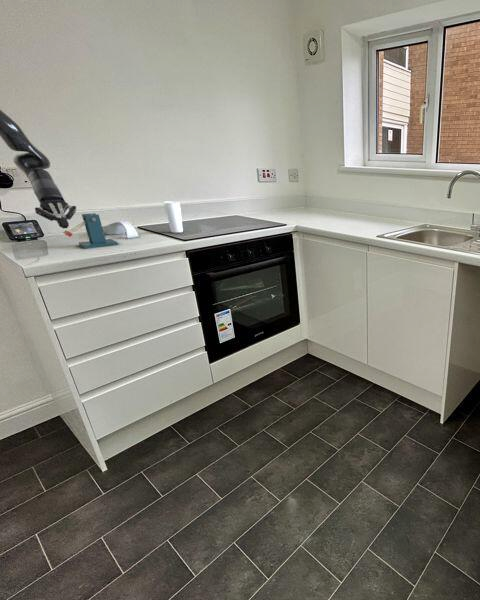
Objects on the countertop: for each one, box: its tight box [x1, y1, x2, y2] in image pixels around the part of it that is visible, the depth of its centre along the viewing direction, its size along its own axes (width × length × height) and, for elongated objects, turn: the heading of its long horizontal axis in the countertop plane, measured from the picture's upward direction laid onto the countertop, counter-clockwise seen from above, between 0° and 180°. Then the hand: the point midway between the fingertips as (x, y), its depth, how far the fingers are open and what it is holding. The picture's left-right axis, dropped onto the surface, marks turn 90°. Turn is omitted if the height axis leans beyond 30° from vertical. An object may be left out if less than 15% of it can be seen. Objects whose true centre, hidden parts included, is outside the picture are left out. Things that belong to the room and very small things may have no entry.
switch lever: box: [62, 213, 93, 238], centre depth 143 cm, size 12×6×2 cm
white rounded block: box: [102, 220, 139, 239], centre depth 167 cm, size 24×12×7 cm, turn 61°
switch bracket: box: [77, 212, 119, 249], centre depth 147 cm, size 11×9×13 cm
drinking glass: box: [163, 201, 184, 234], centre depth 177 cm, size 7×7×15 cm
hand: (65, 227), depth 140 cm, fingers closed
